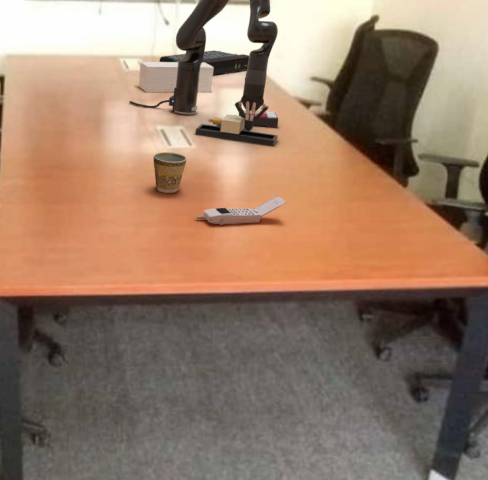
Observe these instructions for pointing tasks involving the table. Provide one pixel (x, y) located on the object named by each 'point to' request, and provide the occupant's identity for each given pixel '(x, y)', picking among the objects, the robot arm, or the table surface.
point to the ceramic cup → (168, 171)
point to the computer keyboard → (217, 61)
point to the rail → (243, 136)
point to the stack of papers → (170, 77)
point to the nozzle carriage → (230, 124)
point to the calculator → (265, 119)
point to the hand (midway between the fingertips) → (248, 130)
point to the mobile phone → (241, 213)
